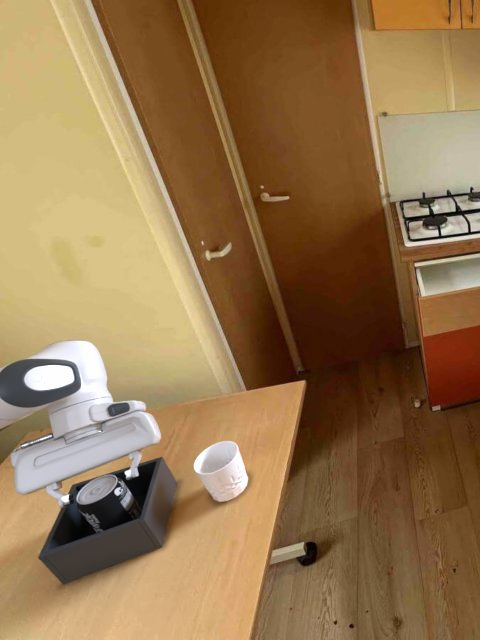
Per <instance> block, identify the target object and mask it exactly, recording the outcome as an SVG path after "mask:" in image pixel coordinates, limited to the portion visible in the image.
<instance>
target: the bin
mask: <svg viewBox="0 0 480 640" xmlns="http://www.w3.org/2000/svg"><path fill="white" fill-rule="evenodd" d="M130 467H131V465H130V466H127V467H125V468H120V469H118V470H114V471H111V472H109V473H105V474H103V475H99V476H96V477H93V478H89V479H86V480H83V481H80V482H77V483H73V484H71V486H70V488H69V491H68V493H67V495H68V494H72V493H73V498H72V499H74V503H73V504H70V505H68V506H66V507H63V508H60V510H59V512H58V514H57V516H56V519H55V520H54V522H53V525H52V527H51V529H50V531H49V533H48V535H47V537H46V540H45V541H44V544H43V546H42V548H41V550H40V552H39V554H38V557H37V558H38V559H39V561H40V562H41V563H42V564H43V565H44V566H45V567H46V568H47V569H48V570H49V571H50V572H51V573H52V574H53V575H54V577H55V578H56V579H57V580H58V581H59V582H60V583H61V585H66V584H69V583H72V582H73V581H76V580H77V581H78V580H79V579H82V578H84V577H87V576H90V575H92V574H95V573H98V572H100V571H102V570H105V569H108V568H111V567H113V566H116V565H118V564H121V563H124V562H126V561H130V560H132V559H135V558H137V557H139V556H142V555H144V554H148V553H150V552H153V551H155V550H158V549H161V548H163V545H164V542H165V541H164V540H165V538H166V537H165V536H166V533H167V529H168V524H169V520H170V515H171V511H172V507H173V503H174V499H175V494H176V491H177V486H178V481H177V479H176V478H175V476H174V475H173V473H172V471H171V469H170V467H169V466H168V464H167V463H166V461H165V458H164V457H163V456H159V457H156V458H153V459H150V460H147V461H143V462H139V465H138V467H137V469H138V474H139V476H137V477H135V478H133V479H130V480H127V479H126V475H125V471H127V470H129V469H130ZM104 475H115V476H116V477H117V478H120V479H122V480H123V482H124V483H125V485H126V486H127V488H128V489H129V491H130V492H131V494H132V495H133V497H134V498H135V500H136V501H137V503H138V504H139V506H140V507H141V509H142V513H141V517H140V518H139V519H136V520H133V521H130V522H127V523H125V524H122V525H119V526H116V527H113V528H110V529H108V530H105V531H102V532H99V533H97V532H96V531H95V530H94V528H93V527H92V526H91V525H90V523H89V522H88V521H87V520H86V518H85V517H84V516H83V514H82V513H81V512H80V511H79V509H78V508H77V500H76V497H77V494H78V493H79V491H80V490H81V489H82V488H83V487H84V486H85V485H86V484H88V483H89V482H91V481H92V480H94V479H96V478H98V477H101V476H104Z"/></svg>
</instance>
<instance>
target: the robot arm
mask: <svg viewBox="0 0 480 640" xmlns="http://www.w3.org/2000/svg"><path fill="white" fill-rule="evenodd" d="M107 382H108V374H107V370H106V367H105V363H104V360H103V358H102V355H101V353H100V351H99V350H98V348H97V347H96V346H95V344H94V343H92V342H91V341H87V340H81V339H68V340H61V341H57V342H53V343H50V344H48V345H46V346H43V348H41V350H39V351H38V352H36V353H34V354H32V355H30V356H27V357H26V358H23V359H19V360H16V361H12V362H10V363H8V364H5V365H4V366H2V367H0V432H2V431H4V430H5V429H7V428H9V427H11V426H12V425H13V424H15V423H17V422H19V421H21V420H23V419H25V418H27V417H29V416H31V415H33V414H34V413H36V412H38V411H44V410H45V411H47V412H48V419H49V422H50V427H51V432H49V433H47V434H43V435H41V436H39V437H37V438H34V439H30V440H26V441H24V442H22V443H20V444H19V446H18V447H16V448H15V449H14V450H12V452H11V454H10V462H11V466H12V468H14V472H13V473H14V476H13V477H14V479H13V480H14V481H13V482H14V490H15V492H16V493H17V494H19V495H21V496H24V495H25V496H26V495H30V494H34V493H36V492H39V491H41V490H43V489H45V492H46V494H48V495H49V496H51V497H52V498H54V499H55V500H57V503H58V507H59V509H61V508H63V507H66V506H68V505H70V504H73V503H74V499H72V498H73V493H72V494H68V493H67V494H66V493H64V492H63V491H61V490H60V489H62V488H63V483H62V482H64V481H67V480H69V479H72V478H74V477H76V476H80V475H82V474H84V473H87V472H89V471H92V470H95V469H97V468H99V467H102V466H105V465H107V464H110V463H112V462H115V461H117V460H119V459H122V458H125V457H127V456H128V459H129V460H132V462H131V465H130V466H131V467H130V466H129V467H130V469H129V470H127V471H125V475H126V479H127V480H130V479H133V478H135V477H137V476H139V474H138V469H137V467H138V465H139V464H140V463H141V460H142V457H143V454H142V451H143V450H145V449H148V448H150V447H152V446H156V445H158V444H159V443H160V441H161V440H162V432H161V430H160V428H159V427H160V426H159V425H158V422H157V420H156V418H155V417H154V415H153V414H151V413H150V412H146V410H147V405H146V403H145V402H144V401H141V400H133V399H132V400H123V401H114V399H113V396H112V394H111V392H110V391H109V389H108V385H107V384H108V383H107Z"/></svg>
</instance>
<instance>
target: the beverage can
mask: <svg viewBox="0 0 480 640" xmlns="http://www.w3.org/2000/svg"><path fill="white" fill-rule="evenodd" d="M103 475H104V476H102V475H100V476H101V477H98V476H97V477H98V478H96V479H94V480H92V481H91V482H89V483H88V484H86V485H85V486H84V487H83V488H82V489H81V490H80V491H79V493H78V494H77V497H76V500H77V508H78V509H79V511H80V512H81V513H82V514H83V516H84V517H85V518H86V520H87V521H88V522H89V523H90V525H91V526H92V527H93V528H94V530H95V531H96V532H97V533H99V532H102V531H105V530H108V529H110V528H113V527H116V526H119V525H122V524H125V523H127V522H130V521H133V520H136V519H139V518H140V517H141V513H142V509H141V507H140V506H139V504H138V503H137V501H136V500H135V498H134V497H133V495H132V494H131V492H130V491H129V489H128V488H127V486H126V485H125V483H124V482H123V480H122V479H120V478H117V477H116V476H115V475H105V474H103Z"/></svg>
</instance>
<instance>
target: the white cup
mask: <svg viewBox="0 0 480 640" xmlns="http://www.w3.org/2000/svg"><path fill="white" fill-rule="evenodd" d="M192 467H193V471H194V472H195V474H196V475H197V477H198V478H199V480H200V482H201V484H202V485H203V486H204V488H205V489H206V491H207V492H208V493H209V494H210V495H211V497H212V499H213V500H214V501H216V502H218V503H222V502H223V503H224V502H229V501H230V500H233V499H235V498H237V497H238V496H240V495H241V493H243V492H244V490H245V489H246V487H247V486H248V482H249V476H248V474H247V472H246V467H245V464H244V459H243V457H242V454H241V452H240V448H239V446H238V444H237V443H236V442H235V441H232V440H223V441H219V442H216V443H213V444H212V445H209V446H208V447H206V448H205V449H203V451H201V452H200V453H199V454H198V456H197V457H196V458H195V460H194V462H193V466H192Z"/></svg>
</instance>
